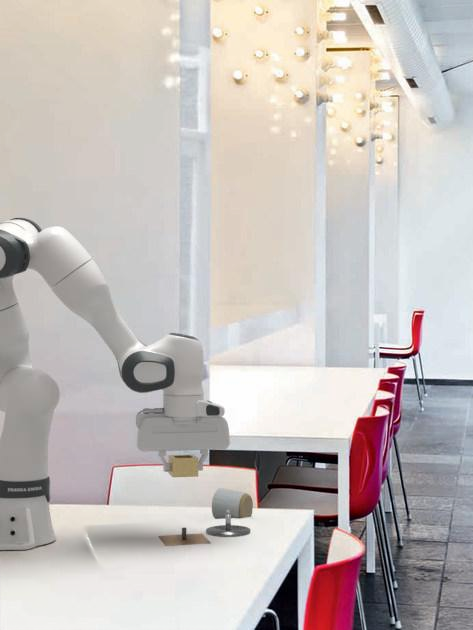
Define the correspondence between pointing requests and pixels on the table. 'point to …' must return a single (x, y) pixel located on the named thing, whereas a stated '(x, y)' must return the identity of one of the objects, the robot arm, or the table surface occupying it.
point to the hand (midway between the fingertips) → (183, 470)
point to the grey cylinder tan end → (231, 504)
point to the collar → (183, 465)
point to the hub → (228, 529)
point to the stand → (184, 539)
